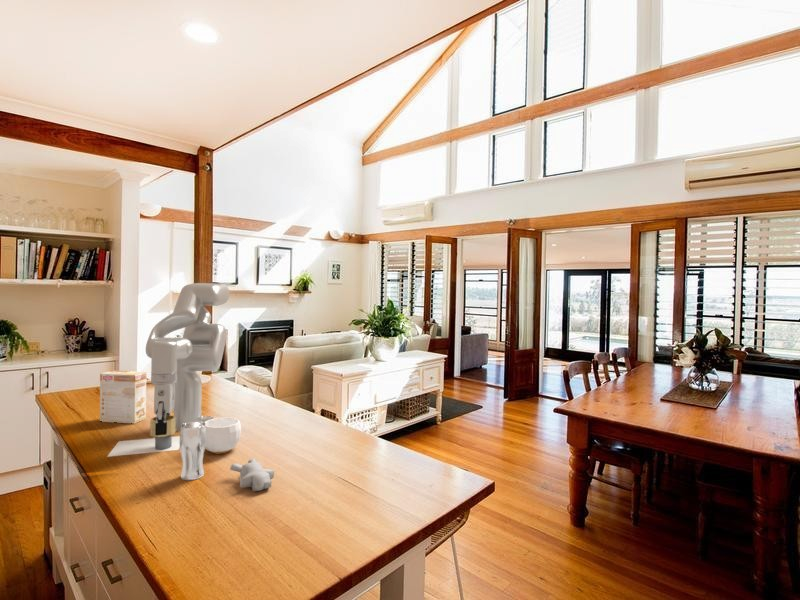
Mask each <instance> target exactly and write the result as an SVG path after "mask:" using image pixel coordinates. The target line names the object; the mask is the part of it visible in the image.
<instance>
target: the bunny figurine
mask: <svg viewBox="0 0 800 600" xmlns="http://www.w3.org/2000/svg"><path fill="white" fill-rule="evenodd" d="M247 462H248V463H246V464H240V463H237V462H236V463H235V462H234V463H231V465H230V468H229V469H230V470H231V471H234V472H238V473H239V474H240V479H239V480H240V481H239V487H240V488H251V490H252V491H253V492H254V493H255V492H258V491H262V490H264V489H269V488H272V481H271V480H273V479H274V478H275V475H274V474H275V471H274V469H269V468H263V465H262V463H261V462H260V461H259V460H258V461H257V460H256V458H250V459H248V461H247Z"/></svg>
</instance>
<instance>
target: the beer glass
mask: <svg viewBox="0 0 800 600" xmlns="http://www.w3.org/2000/svg"><path fill="white" fill-rule="evenodd" d="M179 436H180V447H179V451H180V457H181V462H182V463H181V464H182V467H181V468H182V469H181V473H180V479H181V480H183V481H194V480H198V479H200V478H202V477H203V476H204V475H205V469H204V464H203V463H204V455H205V451H206V448H205V446H206V423H205V422H201V421H193V422H187V423H184V424H182V425H181V429H180V431H179Z"/></svg>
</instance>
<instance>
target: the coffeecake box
mask: <svg viewBox="0 0 800 600" xmlns="http://www.w3.org/2000/svg"><path fill="white" fill-rule="evenodd" d="M99 376H100V377H99V422H100V421H102V422H101V423H114V422H117V424H131V423H132V424H137V423H139V421H140V422H142V421H145V420H146V419H147V371H134V370H133V371H131V370H108V371H104V372H100V375H99Z"/></svg>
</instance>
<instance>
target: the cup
mask: <svg viewBox="0 0 800 600" xmlns="http://www.w3.org/2000/svg"><path fill="white" fill-rule="evenodd" d="M205 423H206V446H205V450H207V451H209V452H211V453H212V454H214V453H215V454H216V455H221V454H222V453H223V454H226V453H228V452H230V451H231V450H233V449H234V448H235V447H236V446H237V444H238V443H239V440H240V438H241V436H242V425H241V422H240V420H239V418H236V417H231V416H230V417H229V416H226V417H222V416H221V417H214V419H211V420H208V421H206V422H205Z"/></svg>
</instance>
